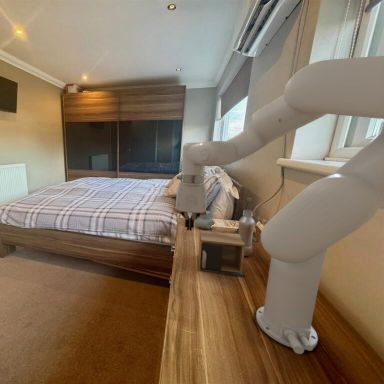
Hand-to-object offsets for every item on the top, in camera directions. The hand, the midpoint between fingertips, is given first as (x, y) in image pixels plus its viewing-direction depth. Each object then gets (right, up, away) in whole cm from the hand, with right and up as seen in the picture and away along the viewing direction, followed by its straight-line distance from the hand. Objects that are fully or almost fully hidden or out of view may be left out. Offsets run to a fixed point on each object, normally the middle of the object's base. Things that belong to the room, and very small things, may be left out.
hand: (189, 229), depth 74 cm
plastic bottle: (+29, -14, +17) cm, 37 cm away
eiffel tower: (+41, -11, +36) cm, 56 cm away
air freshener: (+24, -8, +49) cm, 55 cm away
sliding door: (+9, -16, +2) cm, 19 cm away
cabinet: (+14, -16, +9) cm, 23 cm away
